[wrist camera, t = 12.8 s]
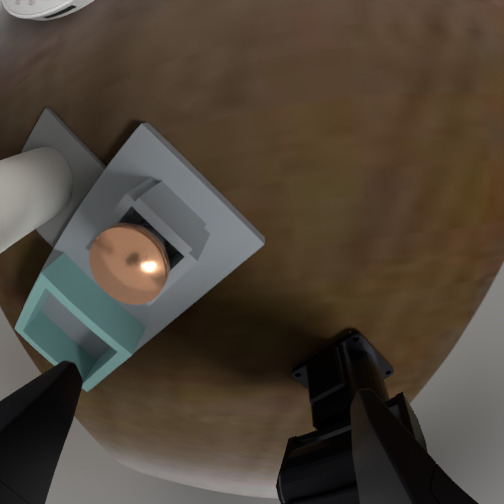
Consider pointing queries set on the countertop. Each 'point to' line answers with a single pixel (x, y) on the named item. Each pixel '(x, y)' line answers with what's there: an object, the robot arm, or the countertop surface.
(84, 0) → the showerhead
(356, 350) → the robot arm
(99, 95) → the countertop surface
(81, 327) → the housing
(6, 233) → the cartridge
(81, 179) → the mat
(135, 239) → the plunger
